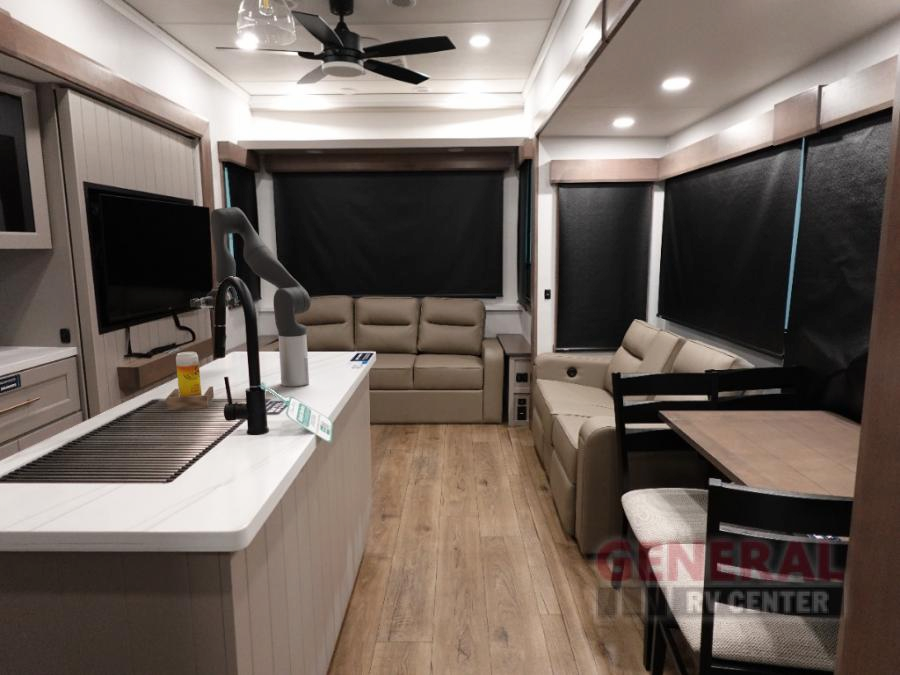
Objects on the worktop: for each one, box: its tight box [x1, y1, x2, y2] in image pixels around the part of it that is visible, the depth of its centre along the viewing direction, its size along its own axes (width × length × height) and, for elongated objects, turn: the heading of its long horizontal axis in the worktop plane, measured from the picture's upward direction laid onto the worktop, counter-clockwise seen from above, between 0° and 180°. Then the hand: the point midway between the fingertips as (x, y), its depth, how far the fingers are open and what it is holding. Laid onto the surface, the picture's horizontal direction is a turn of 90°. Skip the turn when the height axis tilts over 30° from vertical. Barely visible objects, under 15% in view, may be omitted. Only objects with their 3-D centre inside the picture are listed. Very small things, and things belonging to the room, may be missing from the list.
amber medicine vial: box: [175, 351, 203, 397], centre depth 165 cm, size 6×6×15 cm
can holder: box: [165, 386, 215, 411], centre depth 166 cm, size 11×11×4 cm
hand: (210, 304), depth 183 cm, fingers open, 8 cm apart
